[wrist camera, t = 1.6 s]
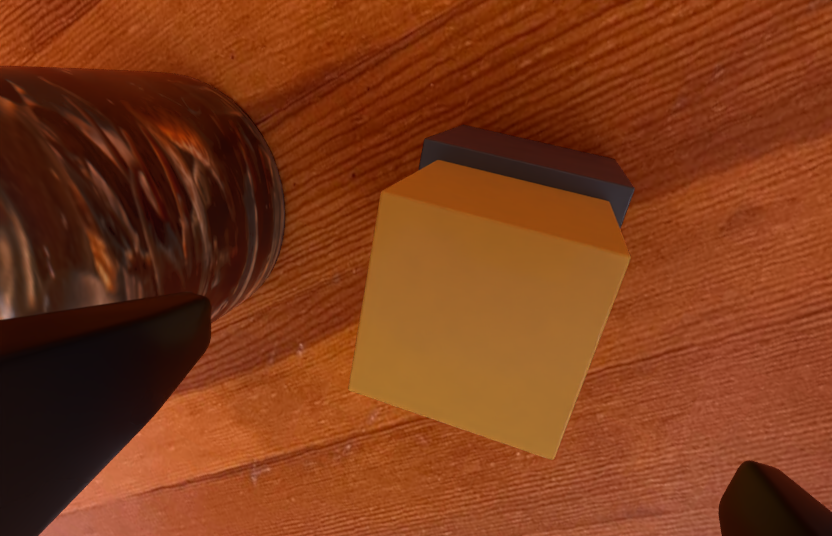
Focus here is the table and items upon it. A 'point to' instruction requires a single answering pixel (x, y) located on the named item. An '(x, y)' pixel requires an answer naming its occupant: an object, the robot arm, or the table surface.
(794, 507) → the robot arm
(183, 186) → the jar
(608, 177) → the base block
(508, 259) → the top block
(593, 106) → the table surface
